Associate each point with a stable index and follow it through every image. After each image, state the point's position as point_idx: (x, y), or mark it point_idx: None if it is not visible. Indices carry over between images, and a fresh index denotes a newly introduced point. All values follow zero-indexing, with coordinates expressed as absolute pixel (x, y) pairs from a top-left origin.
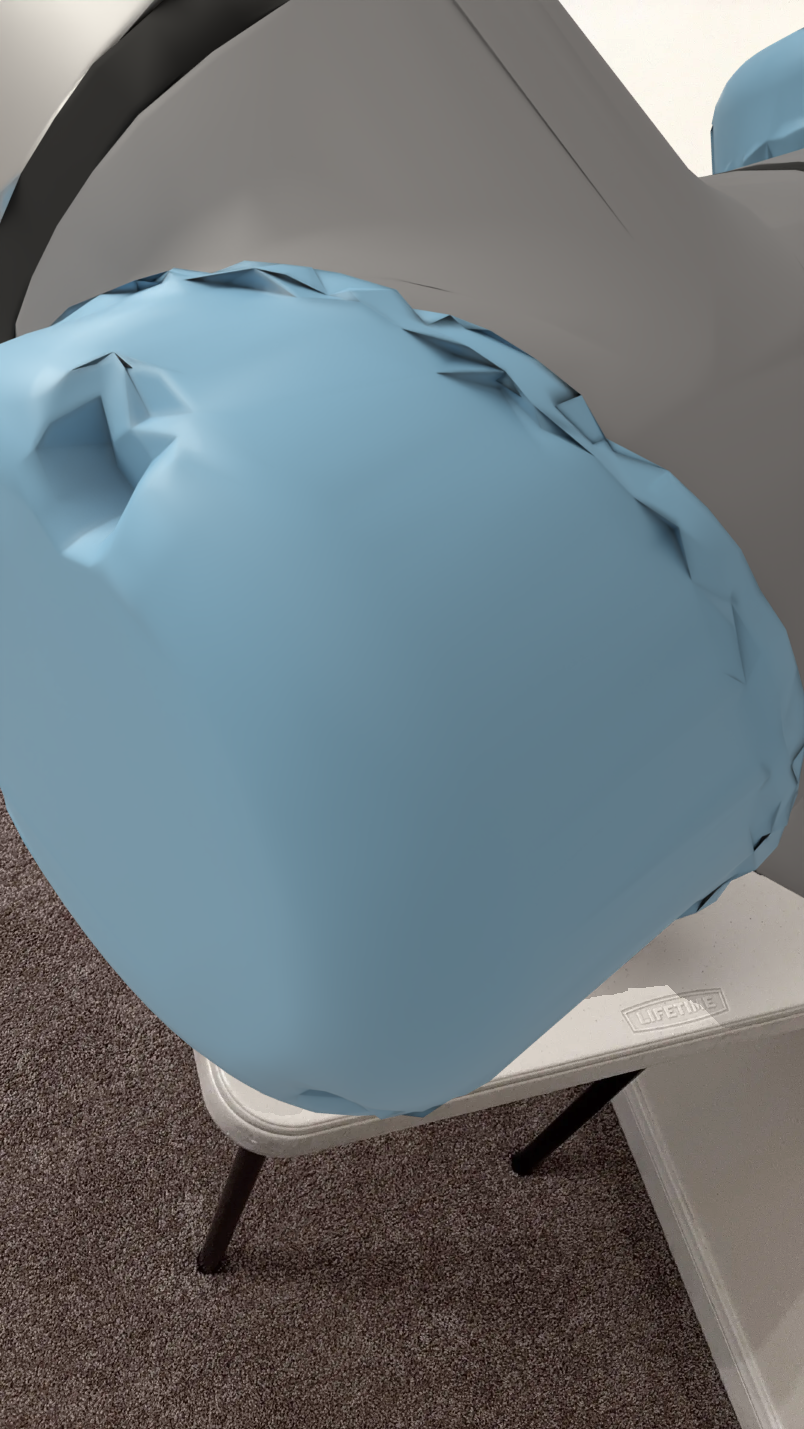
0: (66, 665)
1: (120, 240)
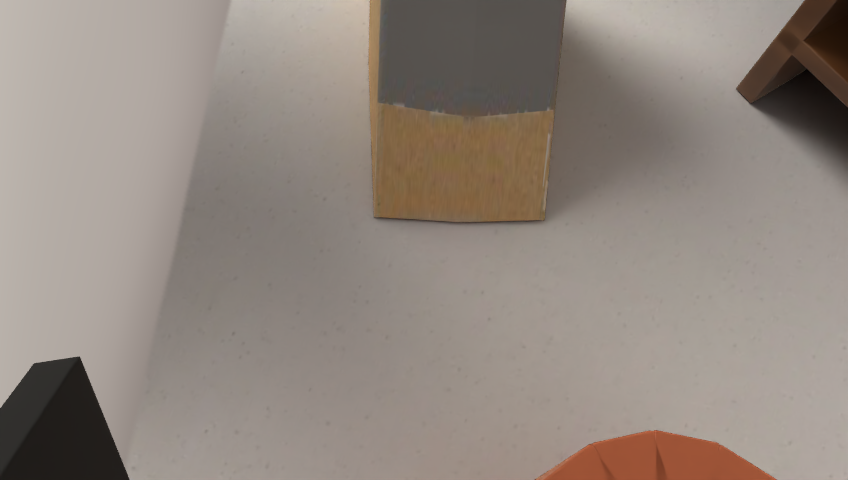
0: None
1: None
